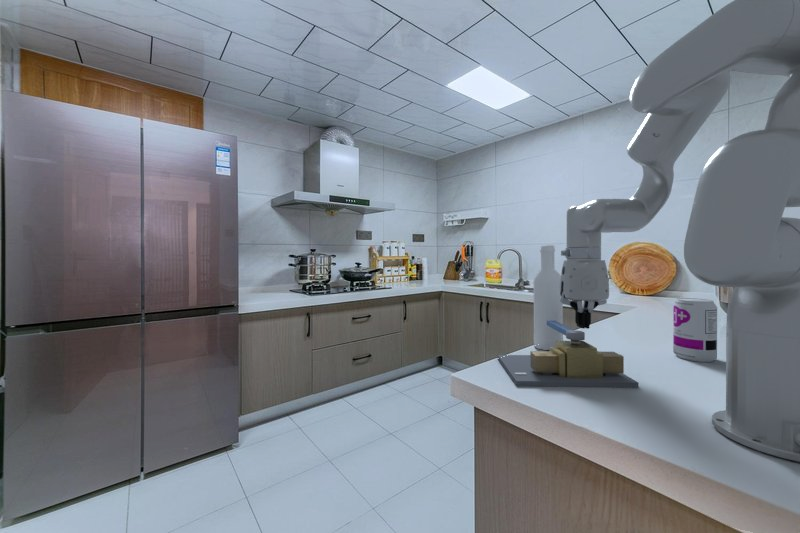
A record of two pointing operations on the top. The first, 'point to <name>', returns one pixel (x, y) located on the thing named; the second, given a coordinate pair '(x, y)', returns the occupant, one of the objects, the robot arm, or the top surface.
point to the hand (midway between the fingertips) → (582, 327)
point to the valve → (576, 361)
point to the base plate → (556, 376)
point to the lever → (566, 331)
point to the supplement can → (695, 329)
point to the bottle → (547, 301)
